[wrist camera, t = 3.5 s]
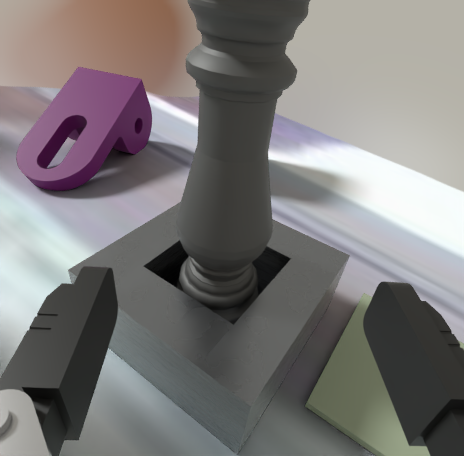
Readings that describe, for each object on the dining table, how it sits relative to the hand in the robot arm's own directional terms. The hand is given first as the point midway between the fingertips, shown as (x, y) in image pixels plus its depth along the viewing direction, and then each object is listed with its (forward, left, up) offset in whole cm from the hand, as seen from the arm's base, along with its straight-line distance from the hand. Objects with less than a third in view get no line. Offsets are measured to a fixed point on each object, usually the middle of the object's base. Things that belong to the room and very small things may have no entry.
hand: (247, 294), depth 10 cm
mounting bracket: (+18, +35, -15) cm, 42 cm away
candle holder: (+8, +6, -15) cm, 18 cm away
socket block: (+8, +6, -15) cm, 18 cm away
